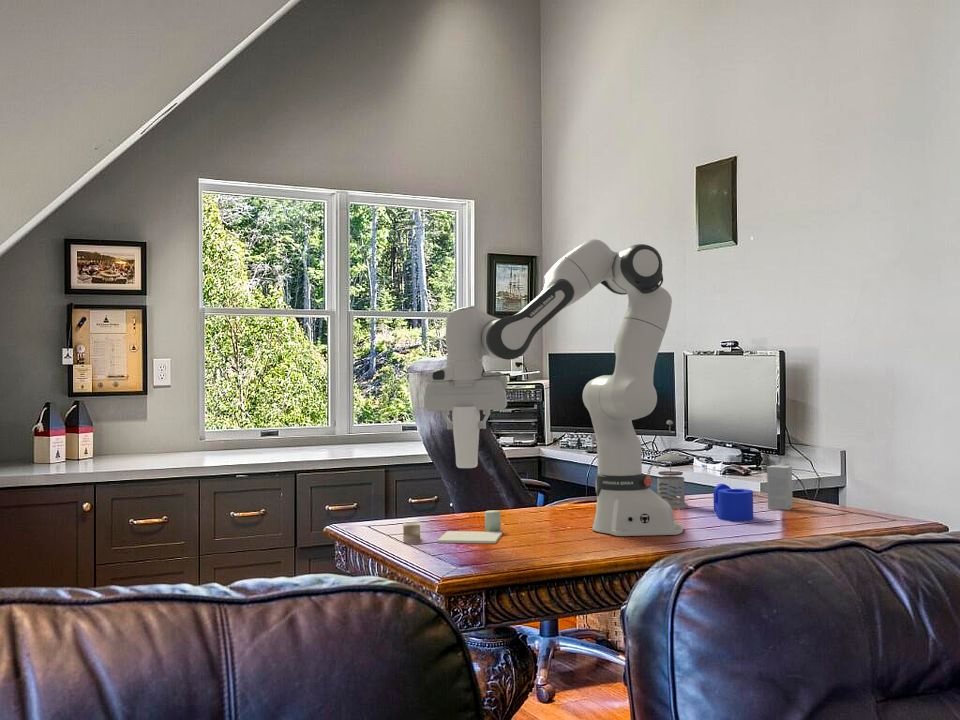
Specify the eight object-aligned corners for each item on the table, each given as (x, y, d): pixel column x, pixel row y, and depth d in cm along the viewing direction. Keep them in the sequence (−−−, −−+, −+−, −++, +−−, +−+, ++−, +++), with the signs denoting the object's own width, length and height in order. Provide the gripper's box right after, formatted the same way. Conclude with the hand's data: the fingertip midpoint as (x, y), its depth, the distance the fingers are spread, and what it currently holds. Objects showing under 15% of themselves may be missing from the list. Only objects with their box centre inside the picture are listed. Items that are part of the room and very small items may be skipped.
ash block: (419, 538, 235) (419, 522, 235) (420, 541, 231) (420, 525, 231) (403, 539, 234) (403, 522, 234) (403, 542, 230) (403, 525, 230)
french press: (684, 509, 272) (682, 421, 272) (644, 507, 277) (642, 421, 277) (691, 504, 281) (690, 419, 281) (653, 502, 286) (651, 418, 286)
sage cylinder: (501, 530, 244) (501, 510, 244) (499, 532, 240) (499, 513, 240) (486, 529, 245) (486, 510, 245) (483, 532, 241) (483, 512, 241)
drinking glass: (477, 469, 230) (476, 406, 230) (450, 468, 231) (449, 406, 231) (483, 465, 237) (482, 405, 237) (456, 465, 238) (455, 405, 238)
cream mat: (502, 534, 238) (502, 531, 238) (495, 543, 226) (495, 540, 226) (447, 533, 240) (447, 531, 240) (437, 542, 228) (437, 540, 228)
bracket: (757, 522, 250) (757, 492, 250) (722, 522, 251) (722, 493, 251) (738, 510, 270) (737, 483, 270) (706, 510, 270) (705, 483, 270)
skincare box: (793, 508, 270) (792, 466, 270) (789, 510, 267) (788, 467, 267) (771, 506, 274) (770, 465, 274) (767, 508, 270) (766, 466, 270)
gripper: (508, 371, 235) (510, 427, 235) (427, 373, 239) (429, 428, 239) (504, 371, 229) (506, 429, 229) (421, 373, 232) (423, 430, 232)
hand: (466, 429), depth 234 cm, fingers closed on drinking glass, 7 cm apart
